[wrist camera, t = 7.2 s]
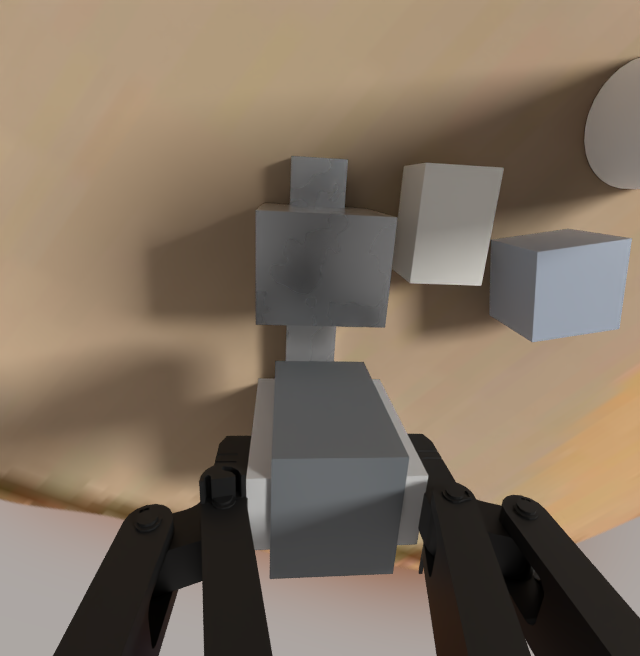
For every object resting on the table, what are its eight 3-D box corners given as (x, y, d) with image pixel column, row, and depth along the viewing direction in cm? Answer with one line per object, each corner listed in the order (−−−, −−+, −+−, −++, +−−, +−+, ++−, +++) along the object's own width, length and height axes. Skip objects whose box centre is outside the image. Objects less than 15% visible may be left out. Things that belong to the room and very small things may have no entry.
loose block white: (403, 166, 23) (425, 162, 20) (469, 170, 24) (504, 167, 20) (391, 268, 25) (410, 283, 22) (452, 270, 26) (481, 285, 22)
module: (275, 360, 18) (271, 458, 11) (363, 361, 18) (409, 457, 12) (274, 449, 19) (269, 582, 13) (355, 448, 20) (392, 576, 13)
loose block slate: (490, 239, 25) (537, 252, 20) (567, 228, 25) (631, 238, 21) (488, 314, 27) (532, 342, 22) (561, 303, 27) (619, 328, 22)
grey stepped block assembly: (263, 156, 22) (255, 143, 16) (370, 162, 23) (405, 153, 16) (262, 456, 29) (255, 536, 22) (344, 455, 29) (361, 533, 23)
